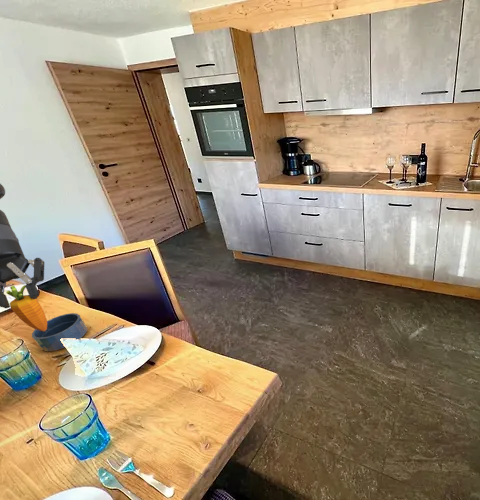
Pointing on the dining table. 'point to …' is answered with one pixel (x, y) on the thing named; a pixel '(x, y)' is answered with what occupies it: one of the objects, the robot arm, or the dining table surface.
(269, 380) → the dining table surface
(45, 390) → the dining table surface
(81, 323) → the bowl
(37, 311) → the carrot
